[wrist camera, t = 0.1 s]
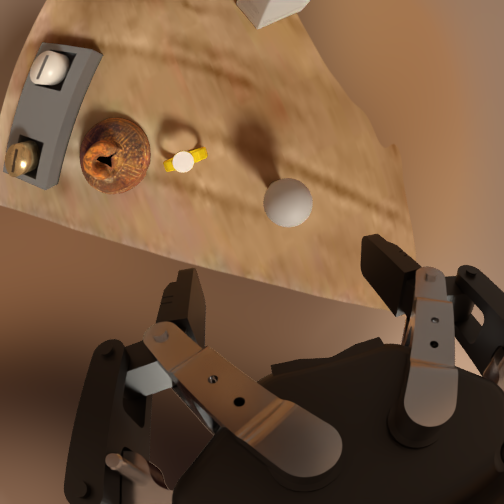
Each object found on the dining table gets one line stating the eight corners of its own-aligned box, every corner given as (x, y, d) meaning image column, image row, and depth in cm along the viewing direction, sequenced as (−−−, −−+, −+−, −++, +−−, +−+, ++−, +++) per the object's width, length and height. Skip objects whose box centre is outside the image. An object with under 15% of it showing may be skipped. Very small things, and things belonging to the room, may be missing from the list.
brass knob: (23, 137, 28) (7, 140, 24) (43, 144, 29) (28, 148, 25) (17, 166, 29) (2, 172, 26) (36, 174, 31) (21, 181, 27)
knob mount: (54, 46, 24) (42, 42, 21) (103, 54, 27) (92, 49, 24) (16, 166, 32) (3, 171, 28) (57, 183, 35) (45, 190, 32)
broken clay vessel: (105, 104, 31) (84, 102, 25) (167, 143, 36) (156, 147, 29) (71, 169, 35) (48, 179, 28) (128, 206, 39) (112, 223, 33)
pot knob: (52, 53, 23) (38, 49, 19) (75, 56, 24) (61, 52, 20) (40, 83, 24) (24, 81, 21) (61, 87, 26) (46, 86, 22)
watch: (203, 141, 36) (203, 143, 31) (209, 159, 38) (210, 163, 32) (164, 155, 36) (158, 159, 31) (170, 172, 38) (165, 179, 32)
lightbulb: (252, 171, 39) (264, 189, 29) (292, 165, 39) (317, 180, 29) (258, 210, 42) (271, 239, 32) (297, 203, 42) (320, 229, 32)
